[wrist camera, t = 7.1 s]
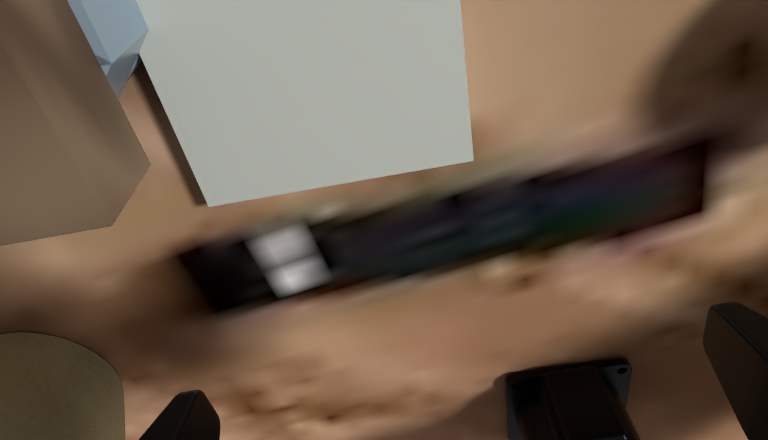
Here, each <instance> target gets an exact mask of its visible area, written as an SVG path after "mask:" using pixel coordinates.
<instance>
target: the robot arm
mask: <svg viewBox="0 0 768 440" xmlns="http://www.w3.org/2000/svg"><path fill="white" fill-rule="evenodd" d="M703 346H704V349H705V352H706V354H707V356H708V358H709V360H710V362H711V364H712V366H713V369H714V371H715V373H716V375H717V377H718V379H719V381H720V383H721V385H722V387H723V389H724V391H725V394H726V396H727V398H728V400H729V402H730V404H731V406H732V408H733V410H734V412H735V414H736V417H737V419H738V421H739V423H740V425H741V427H742V429H743V430H744V432H745V434H746V436H747V438H748V440H768V318H767V317H765V316H763V315H762V314H760V313H758V312H756V311H754V310H753V309H751V308H749V307H747V306H745V305H743V304H741V303H738V302H728V303H722V304H716V305H712V306H711V307H710V308H709V310H708V314H707V319H706V324H705V328H704V333H703ZM631 371H632V368H631V365H630V363H629V362H628V360H627V359H624V358H619V359H612V360H606V361H599V362H592V363H585V364H578V365H571V366H565V367H558V368H551V369H544V370H537V371H531V372H524V373H517V374H512V375H509V376H507V377H506V379H505V394H506V410H507V426H508V439H509V440H640V437H639V435H638V433H637V431H636V429H635V427H634V425H633V423H632V421H631V419H630V416H629V414H628V412H627V410H626V402H627V396H628V390H629V383H630V377H631ZM219 438H220V420H219V416H218V414H217V413H216V411H215V409H214V408H213V406H212V405H211V403H210V402H209V400H208V398H207V397H206V395H205V394H204V393H203V392H202V391H200V390H193V391H187V392H182V393H179V394H178V395H176V396H175V397H174V398H173V399H172V401H171V402H170V403H169V404H168V405H167V407H166V408H165V409H164V410H163V411H162V413H161V414H160V415H159V416H158V417H157V418H156V420H155V421H154V422H153V423H152V424H151V426H150V427H149V428H148V429H147V430H146V432H145V433H144V434H143V435H142V436H141V437H140V439H139V440H219Z"/></svg>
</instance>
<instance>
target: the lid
mask: <svg viewBox="0 0 768 440" xmlns="http://www.w3.org/2000/svg"><path fill="white" fill-rule="evenodd" d="M150 165H151V164H150V162H149V160H148V158H147V156H146V154H145V152H144V150H143V148H142V146H141V144H140V142H139V140H138V138H137V136H136V134H135V132H134V130H133V128H132V127H131V125H130V123H129V121H128V119H127V117H126V115H125V113H124V111H123V109H122V107H121V105H120V103H119V101H118V99H117V97H116V95H115V93H114V91H113V89H112V87H111V85H110V83H109V81H108V79H107V77H106V75H105V73H104V72H103V70H102V68H101V66H100V64H99V62H98V60H97V58H96V56H95V54H94V52H93V50H92V48H91V46H90V44H89V42H88V40H87V38H86V36H85V34H84V32H83V30H82V28H81V26H80V24H79V22H78V20H77V18H76V17H75V15H74V13H73V11H72V9H71V7H70V5H69V3H68V1H67V0H0V246H2V245H8V244H13V243H19V242H25V241H30V240H36V239H41V238H47V237H53V236H58V235H64V234H70V233H75V232H81V231H86V230H92V229H98V228H103V227H109V226H112V225H113V223H114V222H115V220H116V219H117V217H118V216H119V214H120V212H121V211H122V209H123V208H124V206H125V204H126V203H127V201H128V200H129V198H130V197H131V195H132V193H133V192H134V190H135V189H136V187H137V186H138V184H139V182H140V181H141V179H142V178H143V176H144V175H145V173H146V171H147V170H148V168H149V167H150Z"/></svg>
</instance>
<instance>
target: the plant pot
mask: <svg viewBox="0 0 768 440" xmlns="http://www.w3.org/2000/svg"><path fill="white" fill-rule="evenodd" d="M0 440H125V413H124V394H123V386H122V382H121V380H120V378H119V376H118V375H117V373H116V372H115V370H114V369H113V368H112V366H111V365H110V364H109V363H107V362H106V361H105V360H104V359H103V358H101V357H100V356H99V355H97V354H96V353H94V352H93V351H91V350H89V349H87V348H85V347H83V346H81V345H79V344H77V343H74V342H72V341H69V340H66V339H63V338H60V337H55V336H50V335H45V334H38V333H24V332H18V333H6V334H1V335H0Z"/></svg>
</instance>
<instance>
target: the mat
mask: <svg viewBox="0 0 768 440" xmlns="http://www.w3.org/2000/svg"><path fill="white" fill-rule="evenodd" d="M136 1H137V3H138V6H139V8H140V10H141V13H142V15H143V17H144V20H145V22H146V24H147V27H148V29H149V30H148V33H147V35H146V37H145V39H144V42H143V44H142V46H141V49H140V51H139V54H140V57H141V59H142V61H143V63H144V65H145V68H146V70H147V72H148V74H149V76H150V79H151V81H152V83H153V85H154V87H155V90H156V92H157V94H158V96H159V98H160V101H161V103H162V105H163V107H164V109H165V112H166V114H167V116H168V118H169V120H170V123H171V125H172V127H173V129H174V132H175V134H176V136H177V138H178V140H179V143H180V145H181V147H182V149H183V151H184V154H185V156H186V158H187V160H188V162H189V165H190V167H191V169H192V171H193V173H194V176H195V178H196V180H197V182H198V184H199V187H200V189H201V191H202V193H203V195H204V198H205V200H206V202H207V204H208V206H209V207H211V206H217V205H223V204H228V203H234V202H240V201H246V200H251V199H257V198H263V197H269V196H274V195H280V194H286V193H292V192H297V191H303V190H309V189H315V188H320V187H326V186H332V185H337V184H343V183H349V182H355V181H360V180H366V179H372V178H378V177H383V176H389V175H395V174H401V173H406V172H412V171H418V170H424V169H429V168H435V167H441V166H447V165H452V164H458V163H464V162H470V161H474V158H473V146H472V134H471V123H470V111H469V99H468V88H467V76H466V64H465V52H464V41H463V29H462V17H461V5H460V0H136Z"/></svg>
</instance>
